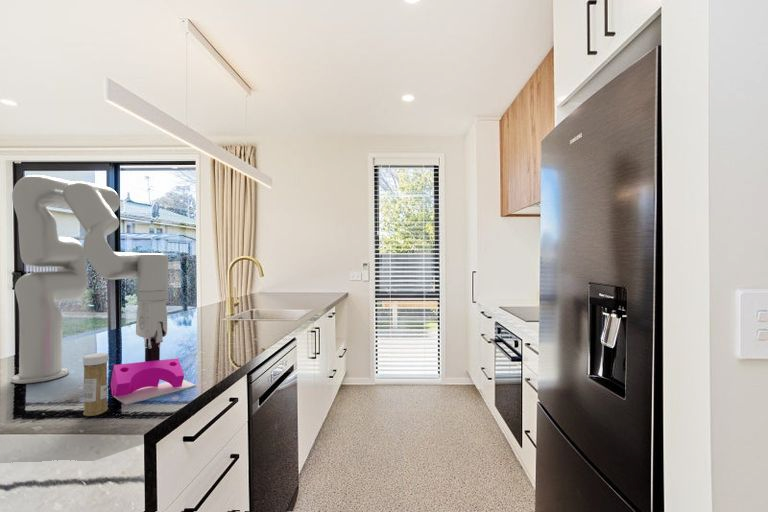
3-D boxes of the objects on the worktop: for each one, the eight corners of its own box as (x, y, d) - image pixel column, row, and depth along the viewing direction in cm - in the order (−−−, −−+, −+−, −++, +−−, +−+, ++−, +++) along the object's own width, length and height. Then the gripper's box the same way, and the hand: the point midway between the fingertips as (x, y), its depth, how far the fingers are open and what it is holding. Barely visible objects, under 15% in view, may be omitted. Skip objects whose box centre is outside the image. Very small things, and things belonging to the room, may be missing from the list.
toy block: (110, 384, 98) (113, 404, 93) (114, 364, 97) (117, 384, 92) (173, 376, 109) (179, 393, 103) (178, 358, 107) (184, 375, 102)
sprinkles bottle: (111, 411, 88) (112, 353, 88) (88, 418, 84) (89, 358, 84) (101, 407, 90) (101, 351, 90) (78, 414, 86) (79, 355, 86)
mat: (112, 396, 97) (112, 394, 97) (181, 379, 111) (181, 378, 111) (125, 404, 92) (125, 403, 92) (195, 386, 105) (195, 384, 105)
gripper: (127, 296, 108) (127, 359, 108) (148, 299, 99) (148, 369, 99) (156, 294, 114) (155, 354, 114) (178, 297, 105) (178, 363, 105)
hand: (152, 361), depth 106 cm, fingers closed
